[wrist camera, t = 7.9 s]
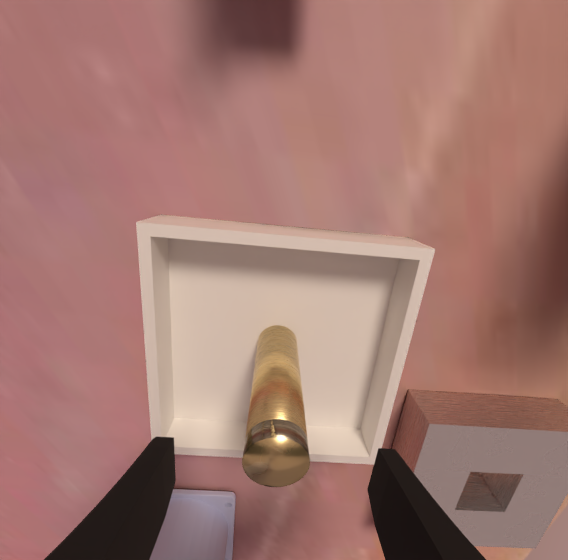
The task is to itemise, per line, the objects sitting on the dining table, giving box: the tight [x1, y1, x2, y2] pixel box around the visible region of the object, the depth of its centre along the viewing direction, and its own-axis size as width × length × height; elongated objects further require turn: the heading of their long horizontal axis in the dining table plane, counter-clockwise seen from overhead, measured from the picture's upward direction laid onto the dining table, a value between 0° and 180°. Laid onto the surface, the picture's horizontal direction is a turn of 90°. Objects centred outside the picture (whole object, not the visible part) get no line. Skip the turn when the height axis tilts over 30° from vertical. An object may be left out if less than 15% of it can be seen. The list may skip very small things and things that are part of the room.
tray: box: [136, 215, 435, 464], centre depth 17 cm, size 14×14×3 cm
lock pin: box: [242, 325, 310, 487], centre depth 14 cm, size 2×2×8 cm
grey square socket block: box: [392, 390, 568, 548], centre depth 21 cm, size 11×11×3 cm
